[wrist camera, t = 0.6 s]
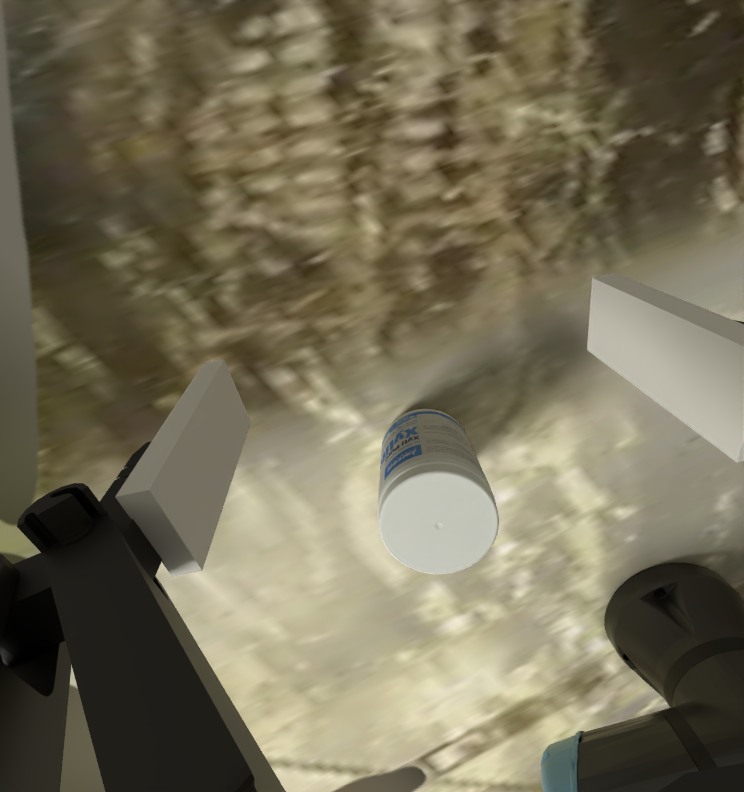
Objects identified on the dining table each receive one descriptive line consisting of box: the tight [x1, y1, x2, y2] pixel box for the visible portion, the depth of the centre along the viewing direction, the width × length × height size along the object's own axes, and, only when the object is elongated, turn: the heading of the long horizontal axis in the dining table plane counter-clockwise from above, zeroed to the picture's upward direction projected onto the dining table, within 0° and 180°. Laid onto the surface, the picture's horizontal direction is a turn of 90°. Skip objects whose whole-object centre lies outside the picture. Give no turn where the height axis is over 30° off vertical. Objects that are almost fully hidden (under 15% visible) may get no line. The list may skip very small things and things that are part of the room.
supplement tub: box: [378, 409, 499, 574], centre depth 38 cm, size 10×10×15 cm
